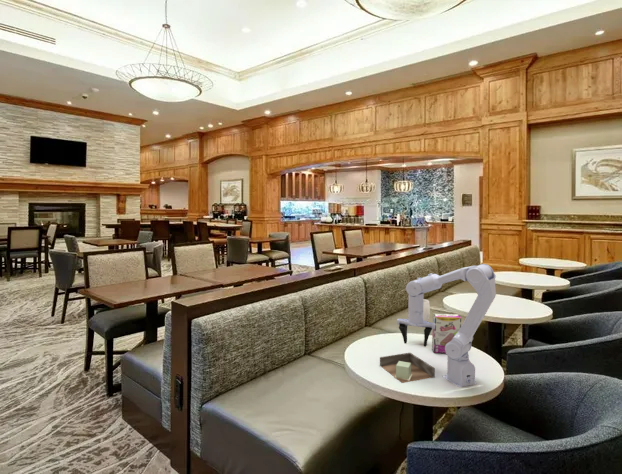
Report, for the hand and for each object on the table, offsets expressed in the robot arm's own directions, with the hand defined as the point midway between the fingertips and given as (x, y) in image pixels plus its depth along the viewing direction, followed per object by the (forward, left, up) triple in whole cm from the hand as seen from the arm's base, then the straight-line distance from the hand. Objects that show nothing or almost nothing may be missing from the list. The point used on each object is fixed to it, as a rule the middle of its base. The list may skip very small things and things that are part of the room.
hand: (415, 344), depth 150 cm
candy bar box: (+9, -22, -10) cm, 26 cm away
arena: (-3, +6, -9) cm, 12 cm away
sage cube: (-6, +10, -9) cm, 14 cm away
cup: (+20, -17, -10) cm, 28 cm away
